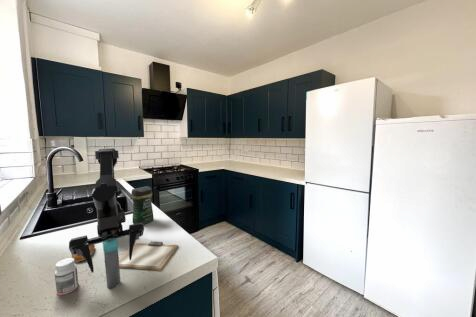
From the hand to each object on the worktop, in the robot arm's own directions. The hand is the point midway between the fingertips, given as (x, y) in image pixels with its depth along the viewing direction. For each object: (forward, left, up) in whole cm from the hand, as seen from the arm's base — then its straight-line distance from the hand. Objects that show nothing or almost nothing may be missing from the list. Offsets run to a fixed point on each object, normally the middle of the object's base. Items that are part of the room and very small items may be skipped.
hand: (112, 265), depth 56 cm
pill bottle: (-13, -2, -7) cm, 15 cm away
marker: (-1, +1, -7) cm, 7 cm away
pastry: (-23, +14, -7) cm, 28 cm away
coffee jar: (-18, +43, -7) cm, 47 cm away
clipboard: (+1, +15, -7) cm, 16 cm away
